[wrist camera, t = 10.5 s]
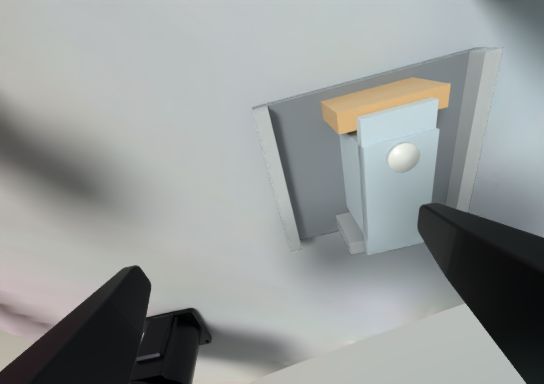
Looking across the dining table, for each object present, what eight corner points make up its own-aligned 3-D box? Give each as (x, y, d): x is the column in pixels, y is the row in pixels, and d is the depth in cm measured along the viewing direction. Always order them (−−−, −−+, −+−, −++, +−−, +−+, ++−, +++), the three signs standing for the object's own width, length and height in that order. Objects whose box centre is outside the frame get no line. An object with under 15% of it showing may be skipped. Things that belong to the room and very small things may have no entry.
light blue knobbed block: (394, 209, 21) (429, 249, 17) (348, 220, 21) (372, 262, 17) (396, 87, 16) (448, 101, 12) (336, 104, 16) (365, 123, 12)
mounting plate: (450, 198, 22) (491, 229, 18) (287, 236, 23) (294, 273, 19) (476, 47, 16) (544, 46, 12) (252, 107, 17) (252, 123, 13)
